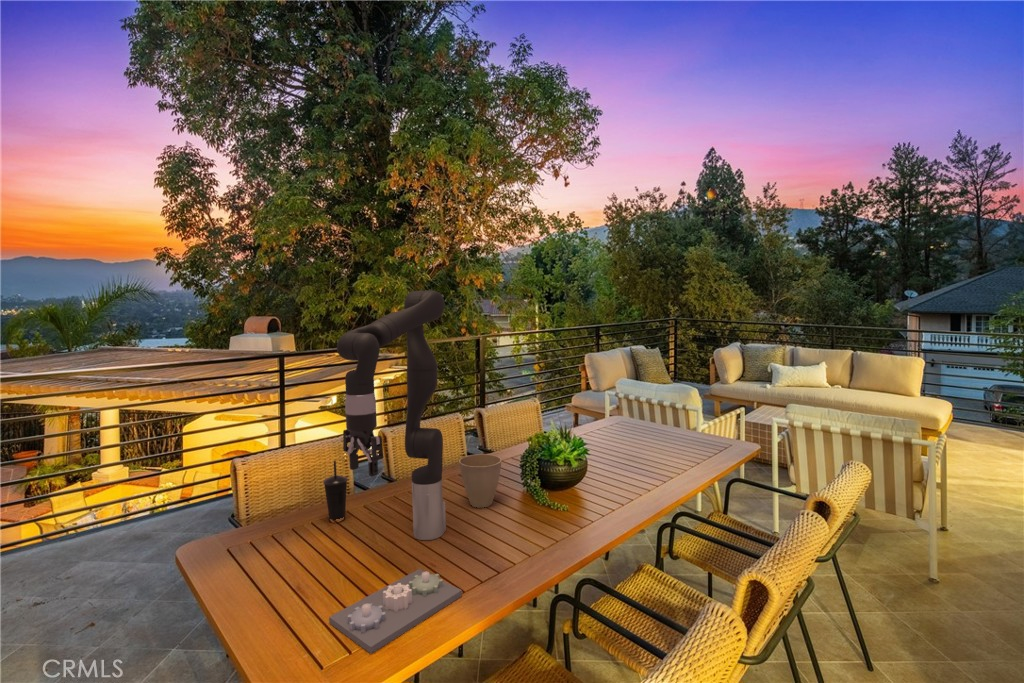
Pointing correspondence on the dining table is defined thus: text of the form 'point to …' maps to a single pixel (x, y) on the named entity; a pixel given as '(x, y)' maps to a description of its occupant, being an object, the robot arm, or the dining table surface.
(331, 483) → the drinking cup
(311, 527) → the dining table surface
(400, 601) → the gear
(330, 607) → the dining table surface
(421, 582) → the gear board
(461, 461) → the plant pot
